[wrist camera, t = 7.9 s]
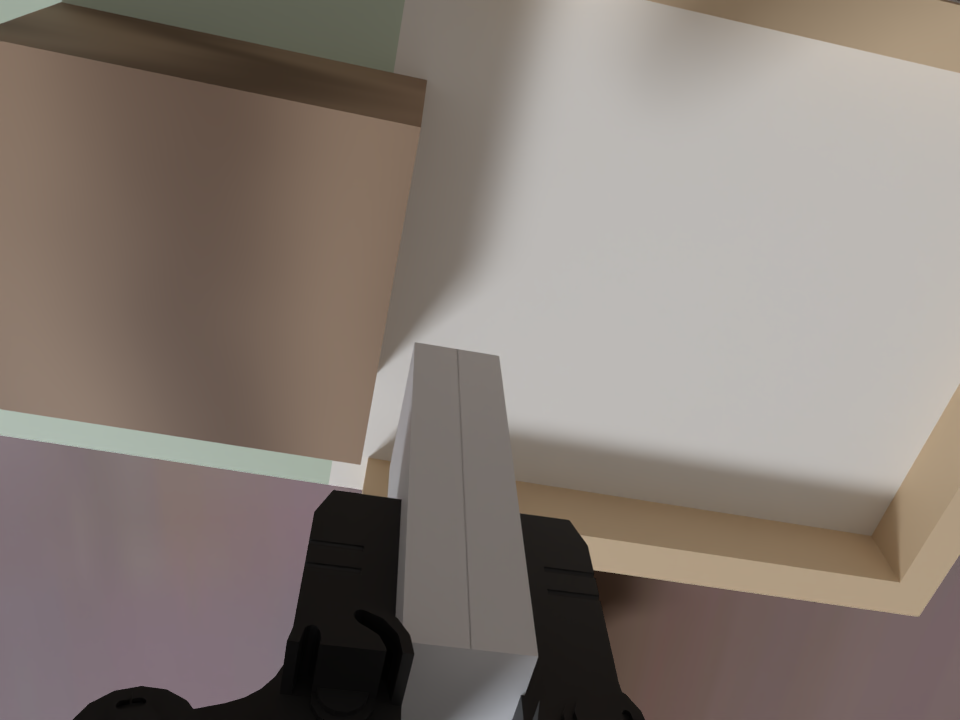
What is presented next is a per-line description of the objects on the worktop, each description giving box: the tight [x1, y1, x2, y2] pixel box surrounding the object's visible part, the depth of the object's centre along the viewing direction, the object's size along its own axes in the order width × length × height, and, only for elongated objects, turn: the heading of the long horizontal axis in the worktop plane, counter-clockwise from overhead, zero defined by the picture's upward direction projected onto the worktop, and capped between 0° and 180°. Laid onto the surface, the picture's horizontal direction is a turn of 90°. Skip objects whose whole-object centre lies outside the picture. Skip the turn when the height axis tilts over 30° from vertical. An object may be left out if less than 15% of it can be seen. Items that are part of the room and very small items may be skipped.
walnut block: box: [0, 2, 427, 465], centre depth 19 cm, size 8×8×4 cm
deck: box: [0, 0, 960, 617], centre depth 21 cm, size 42×16×5 cm, turn 78°
